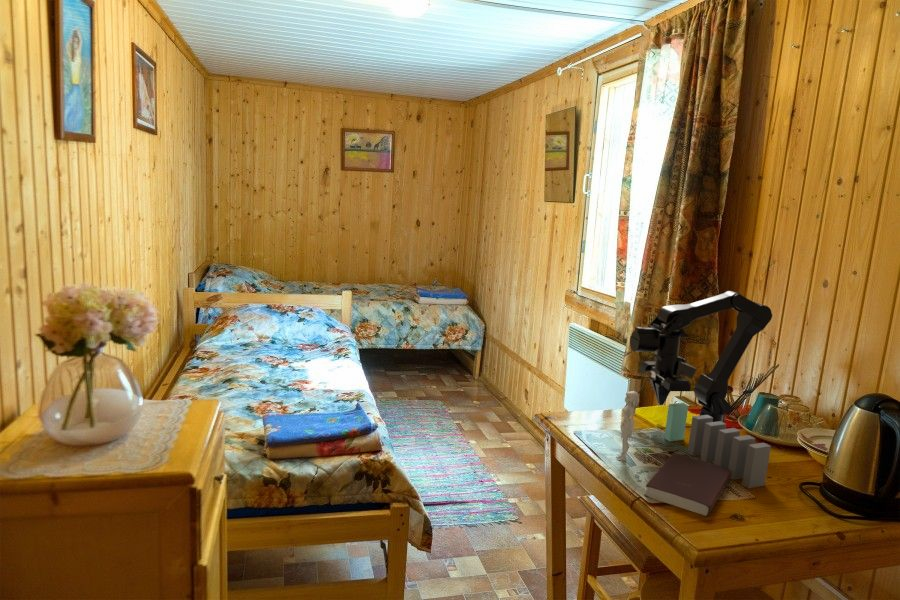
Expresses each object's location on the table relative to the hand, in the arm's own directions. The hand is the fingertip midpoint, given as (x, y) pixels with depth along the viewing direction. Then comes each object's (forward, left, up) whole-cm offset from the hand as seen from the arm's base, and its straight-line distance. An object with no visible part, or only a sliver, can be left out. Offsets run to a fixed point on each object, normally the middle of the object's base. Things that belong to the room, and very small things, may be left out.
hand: (660, 404), depth 177 cm
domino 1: (0, +16, -8) cm, 17 cm away
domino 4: (0, +29, -8) cm, 30 cm away
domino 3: (0, +25, -8) cm, 26 cm away
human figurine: (+22, +14, -8) cm, 27 cm away
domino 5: (0, +34, -8) cm, 34 cm away
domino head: (0, +7, -8) cm, 10 cm away
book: (+17, +31, -8) cm, 36 cm away
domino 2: (0, +20, -8) cm, 22 cm away
